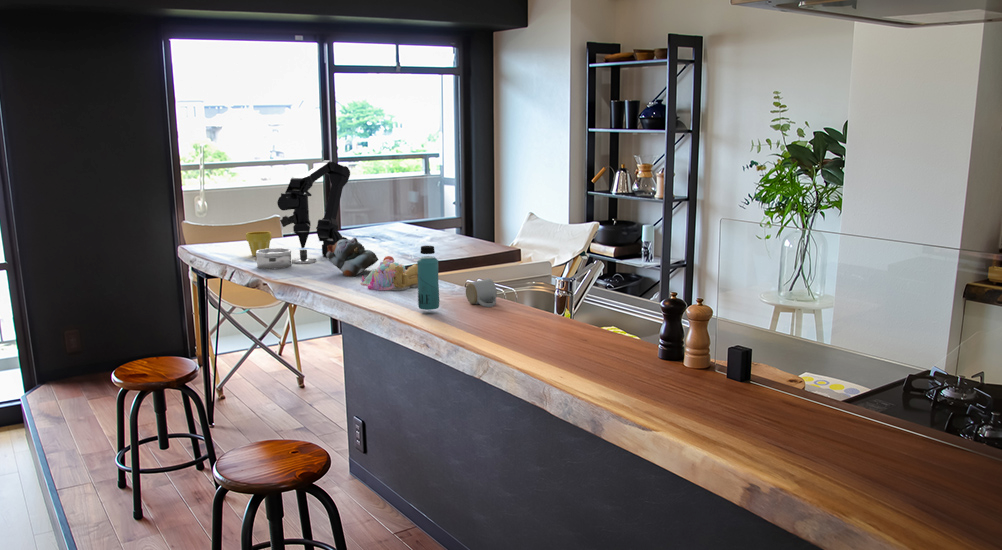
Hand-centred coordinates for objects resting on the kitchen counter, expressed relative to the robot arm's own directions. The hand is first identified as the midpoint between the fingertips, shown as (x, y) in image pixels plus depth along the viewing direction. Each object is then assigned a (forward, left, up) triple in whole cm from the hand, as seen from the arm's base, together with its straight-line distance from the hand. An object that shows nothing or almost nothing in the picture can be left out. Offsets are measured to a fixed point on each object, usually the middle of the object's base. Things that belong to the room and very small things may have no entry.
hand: (303, 246), depth 305 cm
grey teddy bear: (-19, +30, -7) cm, 36 cm away
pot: (+11, +8, -6) cm, 15 cm away
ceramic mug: (-57, +90, -7) cm, 106 cm away
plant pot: (+19, -21, -7) cm, 29 cm away
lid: (0, 0, -7) cm, 7 cm away
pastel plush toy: (-32, +53, -7) cm, 63 cm away
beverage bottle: (-39, +97, -7) cm, 105 cm away
